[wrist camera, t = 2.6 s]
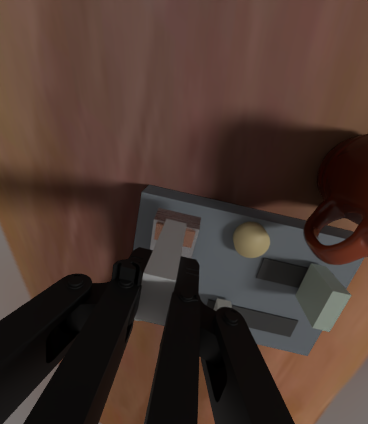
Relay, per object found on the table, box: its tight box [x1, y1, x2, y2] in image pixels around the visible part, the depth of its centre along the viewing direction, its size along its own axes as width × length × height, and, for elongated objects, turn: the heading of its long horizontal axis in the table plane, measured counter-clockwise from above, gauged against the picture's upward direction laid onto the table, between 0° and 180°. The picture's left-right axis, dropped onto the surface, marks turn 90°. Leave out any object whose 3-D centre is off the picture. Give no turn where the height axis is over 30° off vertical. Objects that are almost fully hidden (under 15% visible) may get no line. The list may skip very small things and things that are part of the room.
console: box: [133, 185, 364, 356], centre depth 25 cm, size 15×22×4 cm
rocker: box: [150, 208, 201, 258], centre depth 20 cm, size 8×4×2 cm, turn 168°
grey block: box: [295, 263, 351, 332], centre depth 21 cm, size 4×2×4 cm, turn 168°
